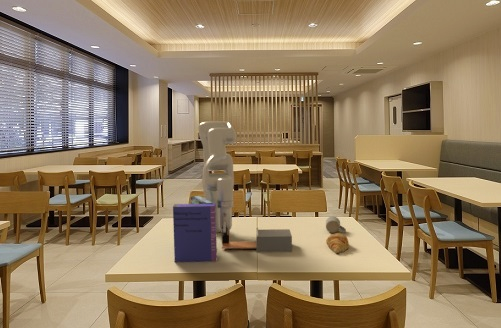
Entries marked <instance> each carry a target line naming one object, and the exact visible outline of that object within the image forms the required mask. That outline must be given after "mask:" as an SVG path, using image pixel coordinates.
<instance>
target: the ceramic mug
mask: <svg viewBox="0 0 501 328" xmlns="http://www.w3.org/2000/svg"><path fill="white" fill-rule="evenodd" d="M325 229H326V230H327V232H329V233H331V234H335V233H338V232H339V233H341V234H344V233H346V232H347V230H346V229H347V228H345V227H344V226H343V225H341V221H340V219H339V218H338V216H333V215H331V216H329V217H328V218H327V219H326V220H325Z"/></svg>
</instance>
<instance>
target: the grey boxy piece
mask: <svg viewBox="0 0 501 328" xmlns="http://www.w3.org/2000/svg"><path fill="white" fill-rule="evenodd" d="M256 241H257V248H256V253H259V252H260V253H261V252H264V253H265V252H267V253H269V252H271V253H272V252H276V253H277V252H281V253H282V252H293V236H292V233H291V230H290V229H287V228H286V229H284V228H283V229H281V228H279V229H275V228H274V229H270V228H269V229H259V227H256Z"/></svg>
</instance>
